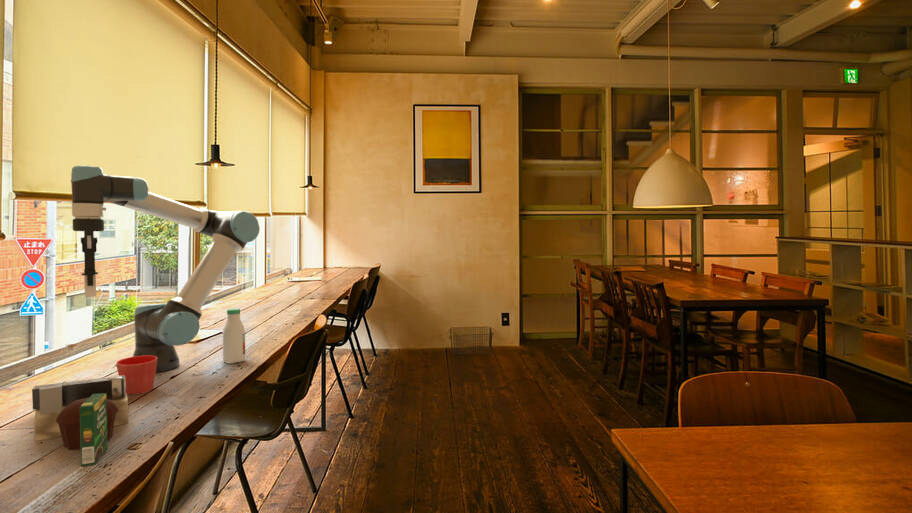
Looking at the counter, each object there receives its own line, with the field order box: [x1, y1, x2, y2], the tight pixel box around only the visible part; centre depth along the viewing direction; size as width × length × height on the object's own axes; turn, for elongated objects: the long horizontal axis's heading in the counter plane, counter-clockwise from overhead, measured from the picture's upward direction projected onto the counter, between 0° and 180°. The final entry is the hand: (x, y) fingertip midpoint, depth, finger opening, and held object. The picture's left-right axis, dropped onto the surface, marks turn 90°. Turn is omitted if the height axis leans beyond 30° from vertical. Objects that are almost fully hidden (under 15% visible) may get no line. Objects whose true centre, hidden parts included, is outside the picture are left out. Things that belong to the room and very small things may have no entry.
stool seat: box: [34, 394, 129, 442], centre depth 127 cm, size 18×23×6 cm
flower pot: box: [116, 355, 157, 395], centre depth 148 cm, size 11×11×10 cm
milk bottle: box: [222, 308, 246, 363], centre depth 182 cm, size 8×8×20 cm
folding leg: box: [31, 375, 127, 411], centre depth 120 cm, size 18×4×5 cm, turn 120°
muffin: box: [56, 397, 119, 451], centre depth 112 cm, size 12×11×10 cm
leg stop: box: [39, 385, 62, 415], centre depth 114 cm, size 4×2×6 cm, turn 127°
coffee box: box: [80, 393, 109, 467], centre depth 104 cm, size 8×3×13 cm, turn 20°
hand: (90, 296), depth 145 cm, fingers closed
